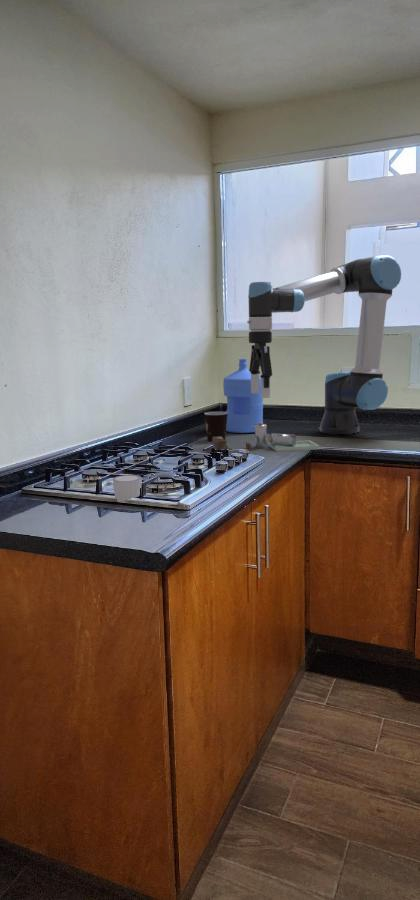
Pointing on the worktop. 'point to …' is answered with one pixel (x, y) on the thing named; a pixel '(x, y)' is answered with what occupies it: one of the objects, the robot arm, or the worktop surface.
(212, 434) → the coffee mug
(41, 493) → the worktop surface
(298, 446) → the pale green tray
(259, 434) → the cell
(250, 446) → the brown wooden stand
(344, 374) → the robot arm
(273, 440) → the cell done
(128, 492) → the light grey cup
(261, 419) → the water jug
